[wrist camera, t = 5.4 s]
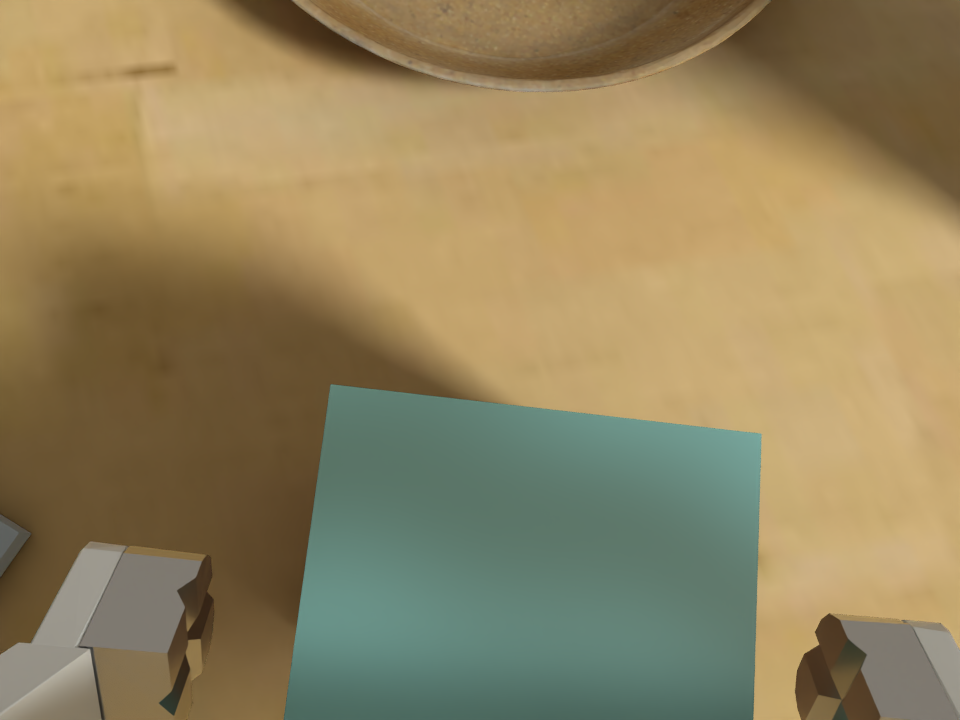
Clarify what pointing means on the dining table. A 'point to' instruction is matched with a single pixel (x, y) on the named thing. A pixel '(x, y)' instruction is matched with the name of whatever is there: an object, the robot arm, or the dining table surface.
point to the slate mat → (10, 541)
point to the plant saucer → (535, 37)
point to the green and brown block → (525, 566)
